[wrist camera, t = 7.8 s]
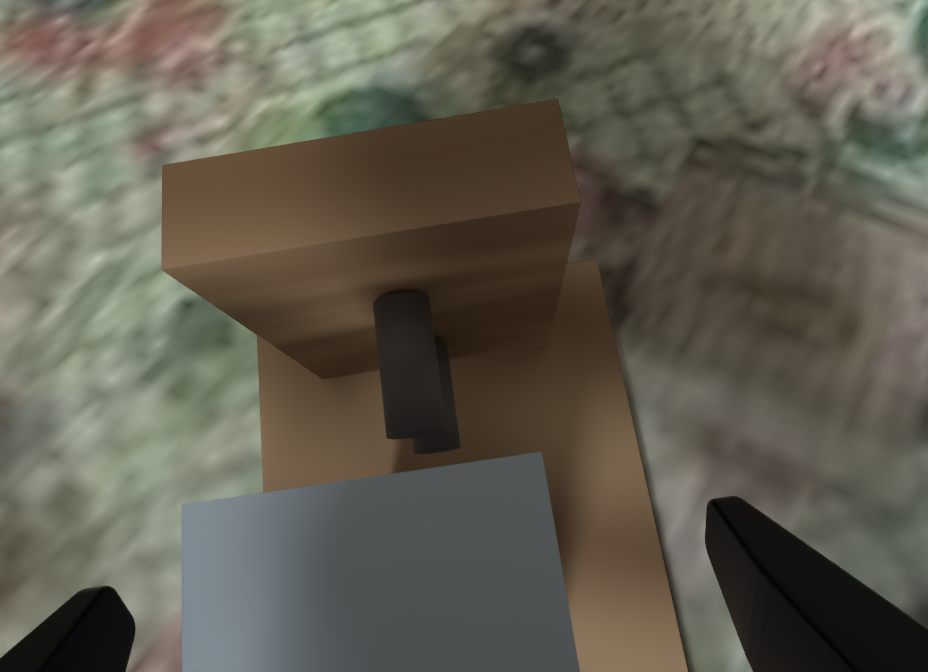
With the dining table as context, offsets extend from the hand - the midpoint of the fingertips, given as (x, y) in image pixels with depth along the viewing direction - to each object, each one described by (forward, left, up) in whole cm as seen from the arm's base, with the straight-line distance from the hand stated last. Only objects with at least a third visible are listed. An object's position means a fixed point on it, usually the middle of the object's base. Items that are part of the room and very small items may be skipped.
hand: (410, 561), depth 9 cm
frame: (-1, +1, -9) cm, 9 cm away
